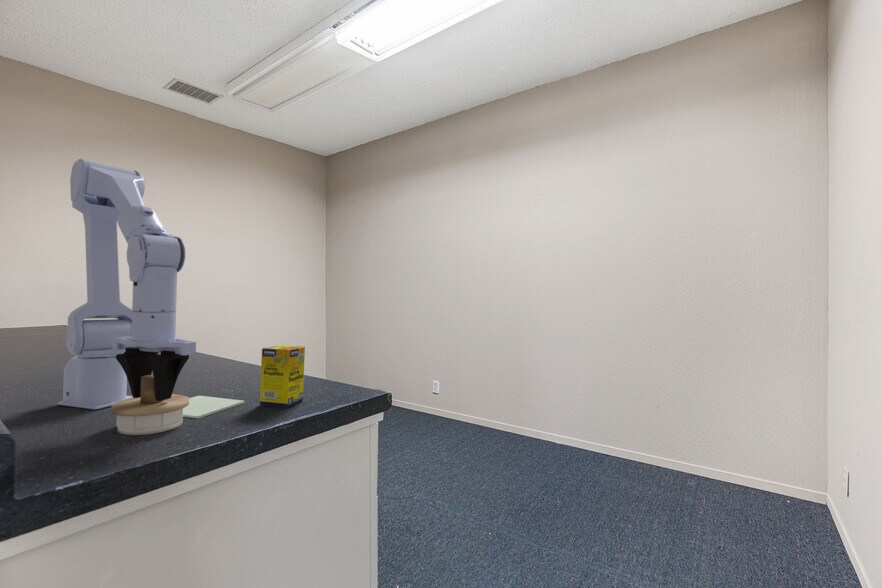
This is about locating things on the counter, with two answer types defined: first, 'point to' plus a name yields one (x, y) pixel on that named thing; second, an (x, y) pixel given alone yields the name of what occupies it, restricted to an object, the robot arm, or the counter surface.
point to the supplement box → (282, 375)
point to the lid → (148, 402)
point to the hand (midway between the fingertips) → (152, 398)
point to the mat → (207, 406)
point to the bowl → (149, 423)
